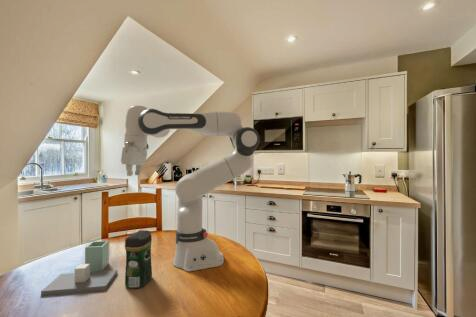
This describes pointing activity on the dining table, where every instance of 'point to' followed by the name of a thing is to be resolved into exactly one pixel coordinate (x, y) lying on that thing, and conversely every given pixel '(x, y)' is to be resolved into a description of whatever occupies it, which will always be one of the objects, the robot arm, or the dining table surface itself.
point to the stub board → (80, 287)
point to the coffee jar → (138, 259)
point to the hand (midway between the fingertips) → (133, 175)
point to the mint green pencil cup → (97, 255)
